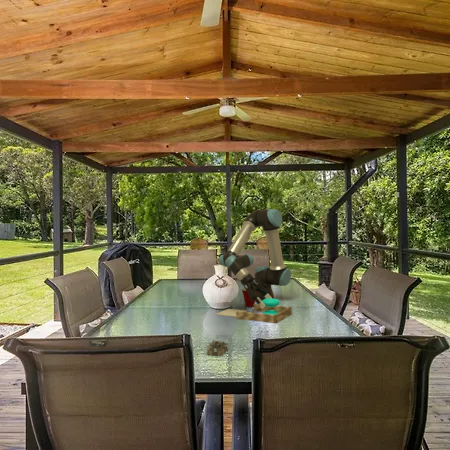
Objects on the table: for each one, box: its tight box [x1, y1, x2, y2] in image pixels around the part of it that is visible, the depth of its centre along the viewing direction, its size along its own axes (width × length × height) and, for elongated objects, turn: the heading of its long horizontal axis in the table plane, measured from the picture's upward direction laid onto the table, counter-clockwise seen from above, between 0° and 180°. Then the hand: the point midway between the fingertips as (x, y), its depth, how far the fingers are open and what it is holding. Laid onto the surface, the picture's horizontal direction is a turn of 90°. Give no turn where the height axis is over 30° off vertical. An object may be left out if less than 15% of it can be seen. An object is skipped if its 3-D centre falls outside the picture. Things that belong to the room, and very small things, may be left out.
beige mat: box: [215, 308, 249, 318], centre depth 234 cm, size 14×16×1 cm
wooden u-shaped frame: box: [235, 303, 293, 324], centre depth 224 cm, size 24×24×4 cm
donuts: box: [261, 298, 280, 315], centre depth 222 cm, size 10×10×10 cm
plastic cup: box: [241, 288, 257, 308], centre depth 252 cm, size 11×11×12 cm
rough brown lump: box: [206, 339, 229, 357], centre depth 162 cm, size 11×8×4 cm
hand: (268, 305), depth 222 cm, fingers open, 13 cm apart
